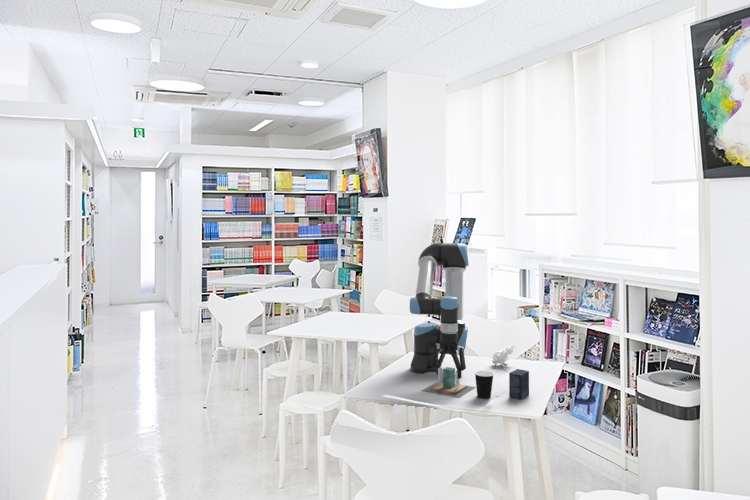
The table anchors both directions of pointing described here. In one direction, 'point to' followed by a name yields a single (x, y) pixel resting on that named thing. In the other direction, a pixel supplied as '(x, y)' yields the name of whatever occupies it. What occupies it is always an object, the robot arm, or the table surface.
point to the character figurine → (502, 356)
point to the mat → (447, 393)
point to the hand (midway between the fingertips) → (448, 384)
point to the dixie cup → (484, 384)
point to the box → (518, 384)
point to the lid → (448, 383)
